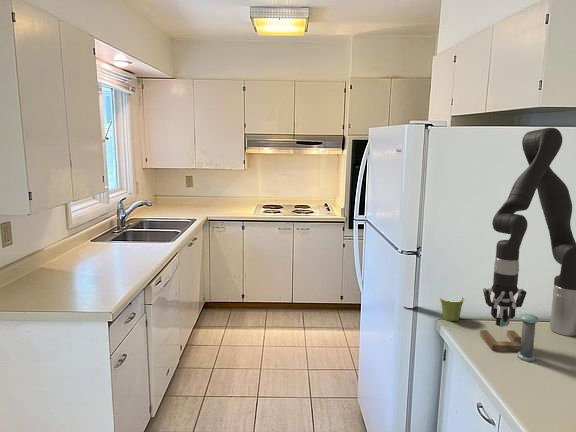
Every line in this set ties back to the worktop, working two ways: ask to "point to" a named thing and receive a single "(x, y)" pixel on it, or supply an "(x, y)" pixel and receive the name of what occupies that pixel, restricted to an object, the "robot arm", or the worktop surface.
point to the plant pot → (451, 309)
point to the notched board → (502, 345)
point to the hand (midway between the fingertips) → (502, 317)
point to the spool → (527, 337)
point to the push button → (504, 312)
